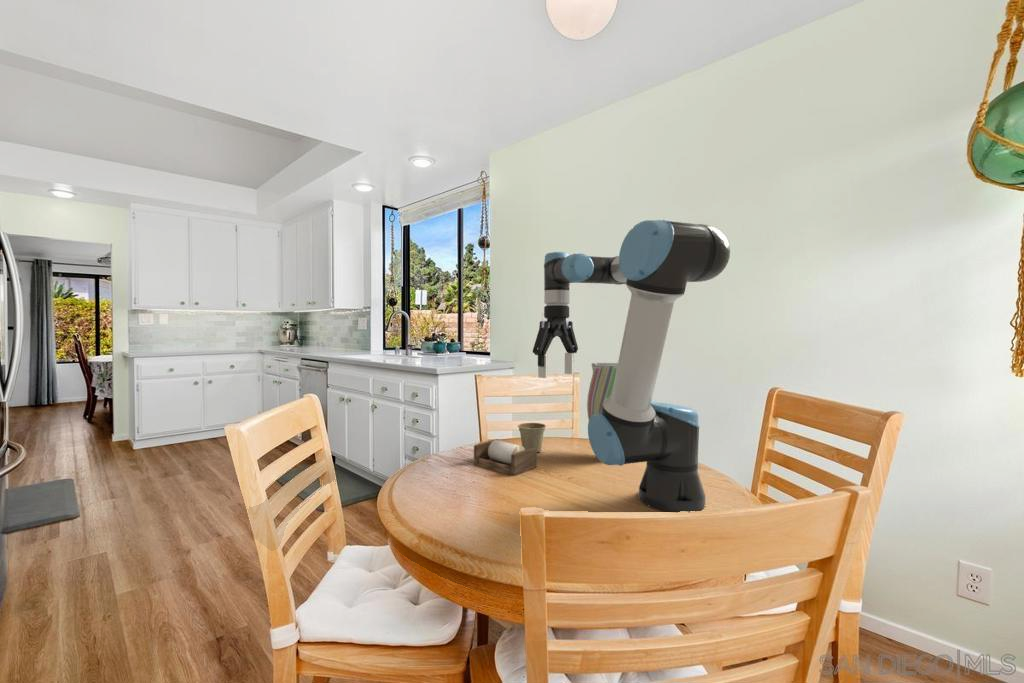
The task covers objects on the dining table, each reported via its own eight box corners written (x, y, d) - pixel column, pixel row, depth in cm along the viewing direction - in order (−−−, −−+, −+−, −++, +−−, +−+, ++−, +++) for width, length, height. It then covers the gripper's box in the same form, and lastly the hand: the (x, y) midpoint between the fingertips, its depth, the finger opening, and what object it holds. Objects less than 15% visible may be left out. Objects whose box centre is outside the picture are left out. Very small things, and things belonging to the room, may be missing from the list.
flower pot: (514, 448, 157) (514, 423, 157) (539, 446, 160) (540, 421, 160) (522, 456, 148) (523, 429, 148) (550, 453, 151) (550, 427, 151)
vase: (583, 453, 152) (584, 362, 150) (625, 453, 151) (626, 362, 150) (589, 466, 138) (589, 365, 137) (634, 466, 137) (635, 366, 136)
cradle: (536, 467, 136) (536, 448, 136) (514, 476, 129) (514, 455, 129) (496, 457, 147) (496, 439, 147) (474, 464, 139) (474, 445, 139)
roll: (524, 466, 137) (527, 446, 137) (511, 466, 132) (514, 445, 133) (499, 459, 143) (502, 440, 144) (486, 459, 139) (489, 439, 140)
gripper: (569, 306, 150) (568, 371, 151) (520, 304, 132) (520, 378, 132) (589, 306, 146) (588, 373, 146) (541, 303, 127) (541, 380, 127)
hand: (556, 375), depth 139 cm, fingers open, 13 cm apart
